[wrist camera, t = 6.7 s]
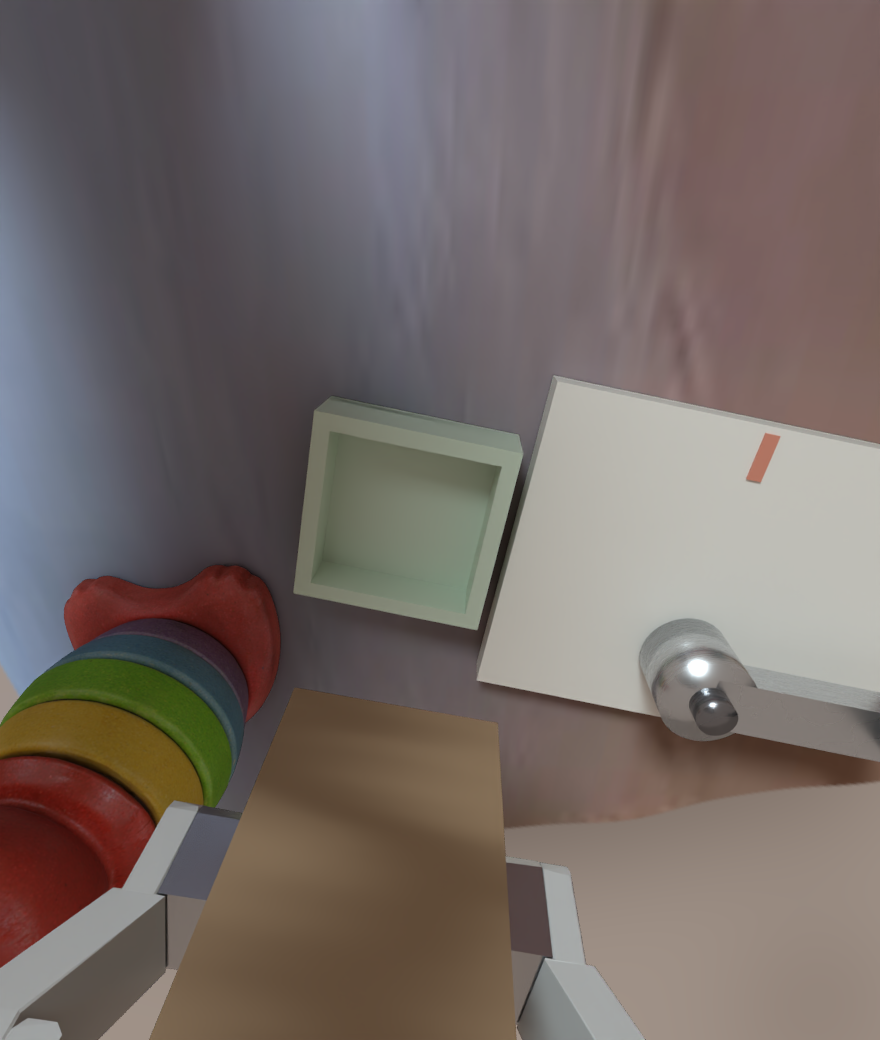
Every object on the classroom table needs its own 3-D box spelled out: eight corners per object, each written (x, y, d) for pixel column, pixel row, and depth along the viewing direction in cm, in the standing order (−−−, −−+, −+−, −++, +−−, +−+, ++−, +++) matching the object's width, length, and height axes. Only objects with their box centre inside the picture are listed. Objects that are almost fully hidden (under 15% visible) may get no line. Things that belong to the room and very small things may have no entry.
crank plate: (476, 662, 31) (476, 681, 30) (553, 375, 25) (557, 381, 24) (829, 732, 32) (846, 755, 30) (985, 466, 26) (1015, 478, 24)
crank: (627, 680, 29) (682, 831, 21) (655, 610, 27) (725, 745, 19) (873, 730, 29) (1016, 897, 21) (914, 663, 27) (1084, 817, 20)
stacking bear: (264, 558, 30) (-3, 915, 13) (308, 720, 33) (143, 1154, 17) (62, 577, 31) (-414, 928, 14) (127, 732, 35) (-191, 1150, 18)
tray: (310, 563, 30) (293, 593, 27) (331, 395, 26) (314, 410, 24) (477, 596, 30) (477, 630, 27) (518, 434, 26) (523, 453, 24)
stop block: (279, 831, 13) (143, 1240, 8) (294, 687, 12) (135, 1073, 6) (458, 861, 13) (450, 1285, 8) (497, 722, 12) (522, 1133, 6)
